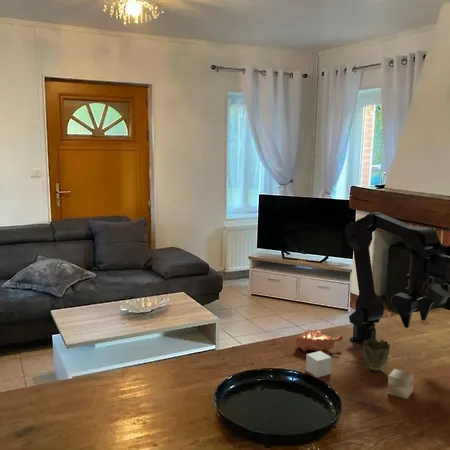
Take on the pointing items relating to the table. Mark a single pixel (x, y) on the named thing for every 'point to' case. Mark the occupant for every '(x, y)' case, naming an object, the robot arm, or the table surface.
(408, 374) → the birch block
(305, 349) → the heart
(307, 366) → the grey block
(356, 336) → the robot arm
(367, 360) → the cup
